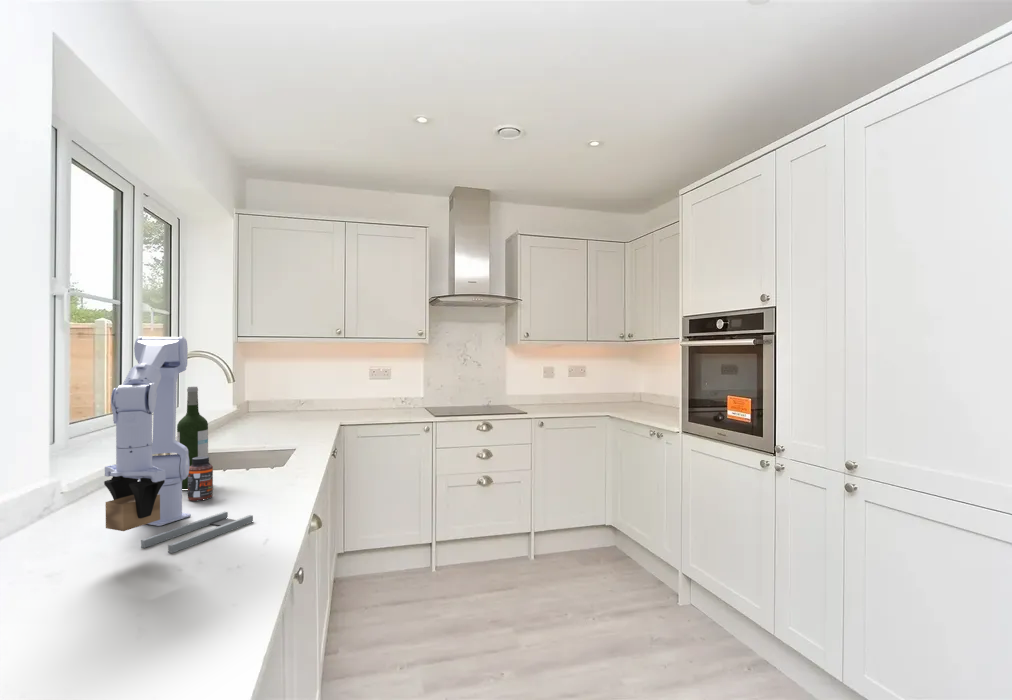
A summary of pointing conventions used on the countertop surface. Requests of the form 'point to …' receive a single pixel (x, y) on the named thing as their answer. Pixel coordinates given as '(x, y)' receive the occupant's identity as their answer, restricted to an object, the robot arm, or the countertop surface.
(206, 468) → the supplement bottle
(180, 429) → the wine bottle
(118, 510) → the brown rectangular block
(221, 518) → the channel
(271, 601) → the countertop surface
